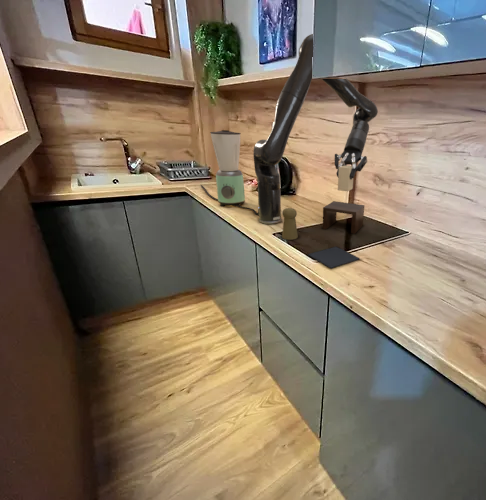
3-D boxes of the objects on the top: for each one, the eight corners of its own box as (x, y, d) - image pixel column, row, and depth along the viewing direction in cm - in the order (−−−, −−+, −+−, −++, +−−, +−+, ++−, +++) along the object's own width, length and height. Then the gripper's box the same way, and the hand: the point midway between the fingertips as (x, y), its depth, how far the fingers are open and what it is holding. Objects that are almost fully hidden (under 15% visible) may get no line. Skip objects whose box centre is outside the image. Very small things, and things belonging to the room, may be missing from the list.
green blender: (242, 208, 148) (236, 131, 134) (214, 208, 146) (205, 130, 133) (248, 199, 165) (243, 130, 151) (223, 198, 164) (216, 129, 150)
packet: (337, 190, 121) (338, 166, 117) (342, 187, 126) (343, 165, 122) (348, 191, 119) (349, 168, 116) (352, 188, 124) (354, 166, 121)
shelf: (332, 220, 136) (333, 201, 133) (362, 225, 132) (364, 205, 128) (322, 228, 126) (323, 207, 122) (354, 233, 121) (356, 212, 118)
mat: (308, 255, 100) (308, 254, 100) (336, 247, 107) (336, 246, 107) (330, 269, 92) (330, 267, 92) (359, 259, 99) (359, 258, 99)
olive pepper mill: (295, 240, 112) (294, 211, 108) (279, 238, 113) (278, 210, 109) (299, 235, 118) (299, 207, 113) (285, 233, 119) (284, 205, 114)
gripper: (373, 151, 126) (363, 185, 120) (341, 148, 130) (329, 181, 124) (371, 137, 119) (360, 173, 113) (337, 135, 123) (325, 169, 118)
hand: (344, 177), depth 119 cm, fingers closed on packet, 4 cm apart
